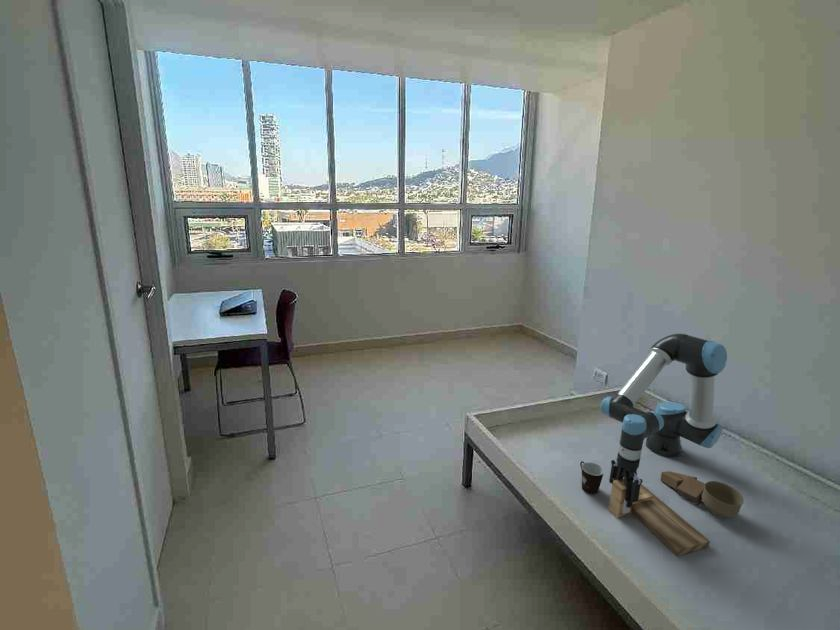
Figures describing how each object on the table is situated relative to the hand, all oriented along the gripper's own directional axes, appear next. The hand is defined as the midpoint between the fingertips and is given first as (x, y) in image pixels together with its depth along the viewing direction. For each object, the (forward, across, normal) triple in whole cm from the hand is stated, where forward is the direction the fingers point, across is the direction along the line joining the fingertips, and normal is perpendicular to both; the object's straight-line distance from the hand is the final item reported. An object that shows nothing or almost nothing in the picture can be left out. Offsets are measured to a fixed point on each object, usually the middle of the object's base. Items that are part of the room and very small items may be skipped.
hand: (620, 507), depth 166 cm
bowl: (+3, +11, +36) cm, 38 cm away
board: (+2, +7, +11) cm, 13 cm away
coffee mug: (+2, -16, -2) cm, 16 cm away
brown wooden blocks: (+3, -3, +36) cm, 36 cm away
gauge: (+2, 0, +6) cm, 6 cm away
